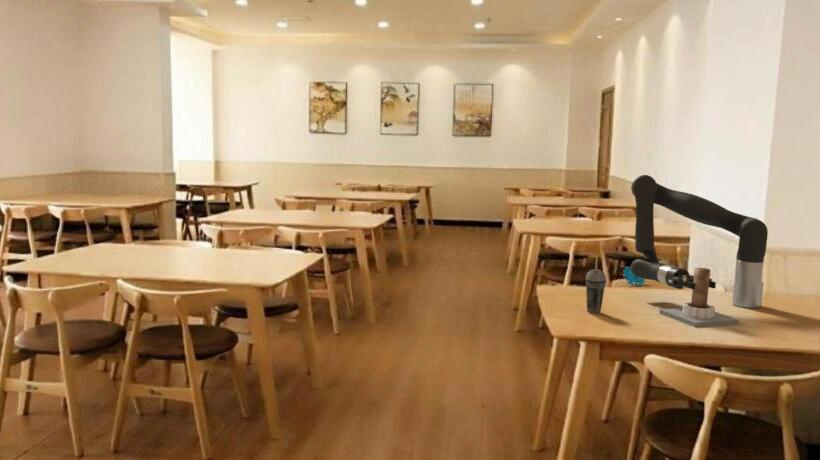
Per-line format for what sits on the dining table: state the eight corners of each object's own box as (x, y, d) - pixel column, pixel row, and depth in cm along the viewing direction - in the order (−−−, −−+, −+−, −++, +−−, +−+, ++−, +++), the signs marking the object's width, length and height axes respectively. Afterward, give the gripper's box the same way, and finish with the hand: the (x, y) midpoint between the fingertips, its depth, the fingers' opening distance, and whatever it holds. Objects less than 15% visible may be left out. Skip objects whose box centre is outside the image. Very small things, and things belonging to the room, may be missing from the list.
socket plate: (700, 311, 246) (702, 298, 246) (738, 324, 229) (739, 311, 229) (659, 313, 241) (660, 301, 240) (694, 327, 224) (695, 313, 223)
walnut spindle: (698, 312, 238) (703, 267, 236) (709, 315, 233) (713, 270, 231) (687, 312, 237) (691, 267, 234) (697, 316, 232) (701, 270, 230)
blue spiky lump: (627, 283, 285) (622, 263, 291) (620, 290, 289) (615, 271, 295) (650, 286, 287) (645, 267, 293) (643, 293, 291) (639, 274, 298)
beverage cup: (605, 311, 241) (609, 256, 239) (602, 315, 235) (606, 259, 232) (585, 308, 244) (588, 254, 242) (581, 313, 238) (584, 257, 235)
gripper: (657, 266, 244) (688, 275, 229) (690, 265, 249) (722, 274, 233) (655, 287, 245) (686, 297, 230) (688, 285, 250) (720, 295, 234)
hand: (704, 285), depth 232 cm, fingers open, 8 cm apart
